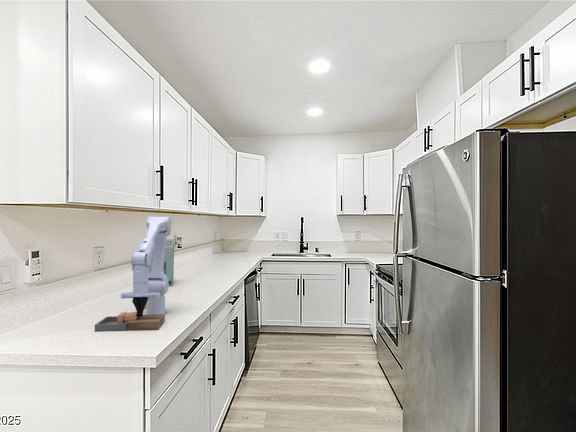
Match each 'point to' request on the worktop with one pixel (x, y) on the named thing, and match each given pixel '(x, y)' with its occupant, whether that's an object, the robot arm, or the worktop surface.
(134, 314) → the tile
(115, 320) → the box
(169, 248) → the device
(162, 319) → the board
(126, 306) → the worktop surface
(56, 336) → the worktop surface
